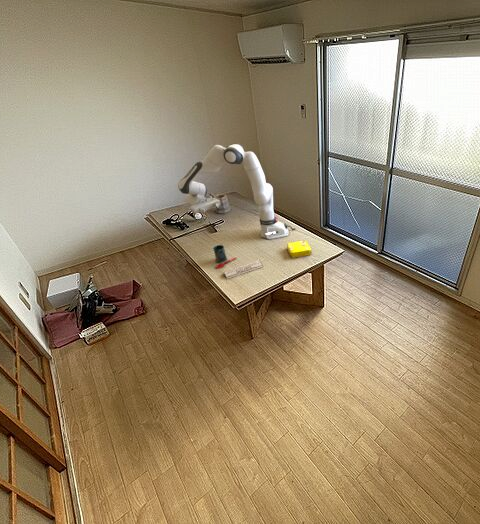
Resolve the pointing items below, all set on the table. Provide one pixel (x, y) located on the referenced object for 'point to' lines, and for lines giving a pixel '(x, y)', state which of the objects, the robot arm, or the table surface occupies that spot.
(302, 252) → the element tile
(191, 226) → the table surface
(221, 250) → the mug
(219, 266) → the spoon
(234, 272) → the newspaper
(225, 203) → the tankard
